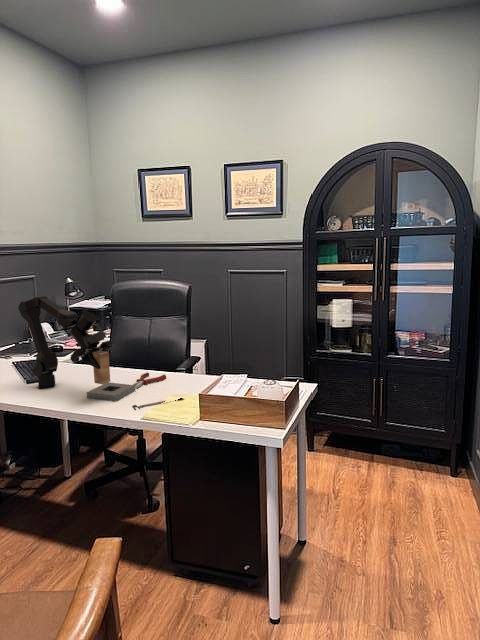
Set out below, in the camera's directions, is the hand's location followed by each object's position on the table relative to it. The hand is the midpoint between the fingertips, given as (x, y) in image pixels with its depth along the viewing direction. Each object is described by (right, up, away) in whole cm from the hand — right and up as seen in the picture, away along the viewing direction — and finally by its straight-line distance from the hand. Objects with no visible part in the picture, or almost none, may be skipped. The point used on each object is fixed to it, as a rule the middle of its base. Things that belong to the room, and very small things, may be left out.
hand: (103, 367), depth 184 cm
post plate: (+1, -12, +8) cm, 15 cm away
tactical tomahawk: (+24, -15, -5) cm, 28 cm away
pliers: (+11, -10, +24) cm, 28 cm away
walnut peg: (-1, -6, +2) cm, 7 cm away
